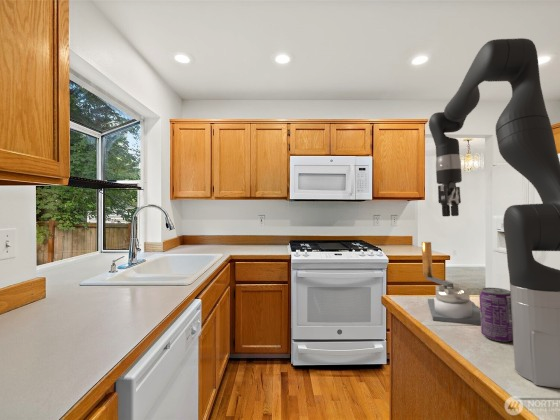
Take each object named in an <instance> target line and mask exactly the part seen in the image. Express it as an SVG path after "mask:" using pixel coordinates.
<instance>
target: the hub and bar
mask: <svg viewBox="0 0 560 420" xmlns="http://www.w3.org/2000/svg"><path fill="white" fill-rule="evenodd" d="M432 254H433V253H432V241H423V242H421V255H422V256H421V257H422V275H423V277H425V279H426V280H427V281H430V282H434V283H436V284H439V285H435V297H436V299H438V300H440V301H444V302H449V303H467V302H469V301H470V299H471V298H470V297H471V296H470V289H469V288H467V287H460V286H459V285H457V284H454V282H449V281H448V280H444V279H441V278H438V277H435V276H434V273H433V272H434V271H433V258H432V257H433V255H432Z"/></svg>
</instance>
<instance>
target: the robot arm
mask: <svg viewBox="0 0 560 420" xmlns="http://www.w3.org/2000/svg"><path fill="white" fill-rule="evenodd" d="M538 57H539V56H538V52H537V47H536V44H535V43H534V42H533V40H531V39H529V38H523V37H521V38H519V37H518V38H499V39H492V40H488V41H487V42H485V44H483V45H482V47H481V48H480V49H479V50H478V52H477V54H476V55H475V56H474V59H473V61H472V63H471V65H470V67H469V69H468V70H467V72H466V74H465V76H464V78H463V80H462V82H461V84H460V86H459V88H458V89H457V91H456V93H455V94H454V95H453V97H452V98H451V99H450V100H449V101H448V103H447V104H446V106H445V107H444V110H443V111H441V112H439V111H437V112H435V113H433V114H432V115H431V116H430V118H429V121H428V127H429V132H430V134H431V136H432V139H433V142H434V145H435V155H436V157H435V159H436V160H435V173H436V176H435V178H436V184H438V186H437V192H438V193H437V195H438V197H437V198H438V199H437V200H438V201H437V203H438V204H440V206H441V214H442V215H441V216H442V217H450V216H451V217H459V211H460V210H459V206H460V204H461V202H462V199H461V190H460V189H461V187H460V186H457V184H459V183H461V182H462V181H463V179H462V160H461V157H460V143H459V142H460V141H459V140H458V139H457V138H455V137H454V138H453V137H451V136H450V137H449V136H447V135H446V133H448V134H449V133H456V132H458V131H460V130H461V129H462V128H463V127H464V125H465V124H464V123H465V121H466V118H467V117H468V115H470V114H471V113H472V111H474V109H476V108H477V105H479V102H480V99H481V93H480V89H479V85H481V83H483V82H508V83H509V84H510V87H511V91H512V93H511V97H510V100H509V102H508V103H507V105H506V106H505V108H504V109H503V110H502V112H501V114H500V115H499V117H498V119H497V121H496V124H495V137H496V140H497V146H498V152H499V154H500V156H501V157H502V158H503V160H504V161H505V162H506V163H507V164H508V165H510V166H511V168H513V169H514V170H515V171H516V172H518V173H519V174H521V175H522V177H524V178H526V180H527V181H528V182H529V183H531V185H532V186H533V188H534V189H535V190H536V192H537V194H538V195H539V197H540V200H541V202H542V203H527V204H524V203H523V204H514V205H512V204H511V205H509V206H508V207H507V208H506V210H505V212H504V214H503V221H502V223H503V225H502V226H503V235H504V241H505V242H504V243H505V249H506V258H507V270H508V276H509V291H510V295H511V313H512V330H513V340H512V344H513V356H514V357H513V359H514V370H515V372H516V373H518V374H519V376H522V377H523V379H526V380H529V381H530V382H532V383H533V384H534V385H537V386H541V387H547V388H554V389H555V388H556V389H560V269H558V268H554V267H550V266H547V265H545V264H543V263H541V262H539V261H537V260H536V259H535V257H534V254H533V252H560V158H559V154H558V150H557V146H556V140H555V137H554V130H553V128H552V124H551V119H550V117H549V114H548V111H547V108H546V104H545V99H544V95H543V94H544V93H543V90H542V84H541V77H540V67H539V58H538Z"/></svg>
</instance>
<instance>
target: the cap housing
mask: <svg viewBox="0 0 560 420" xmlns="http://www.w3.org/2000/svg"><path fill="white" fill-rule="evenodd" d="M427 304H428V307H429V311H430V314H431V319H432V320H433V321H435V322H448V323H458V324H468V325H469V324H470V325H480V326H481V317H480V308H479V307H478V306H477V305H476V304H475V302H474V301H472V300H470V301H469V302H467V303H449V302H444V301H440V300H438V299H436V296H434V298H427Z"/></svg>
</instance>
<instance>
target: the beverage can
mask: <svg viewBox="0 0 560 420" xmlns="http://www.w3.org/2000/svg"><path fill="white" fill-rule="evenodd" d="M480 290H481V292H480V294H479V296H478V297H479V310H480V317H481V325H480V330H481V331H480V332H481V335H483V336H485V337H486V338H488V339H490V340H492V341H495V342H500V343H501V342H502V343H507V342H511V341H512V342H513V330H512V313H511V295H510V289H505V288H499V287H482V288H481V289H480Z"/></svg>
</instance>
